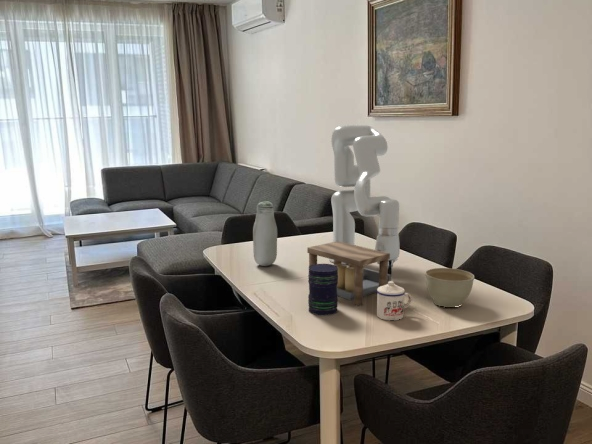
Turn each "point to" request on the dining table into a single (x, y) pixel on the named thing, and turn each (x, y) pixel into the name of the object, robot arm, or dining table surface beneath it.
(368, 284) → the tray
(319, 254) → the low table
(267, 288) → the dining table surface
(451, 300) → the planter bowl
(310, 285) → the storage jar
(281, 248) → the dining table surface
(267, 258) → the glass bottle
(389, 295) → the teacup with lid
